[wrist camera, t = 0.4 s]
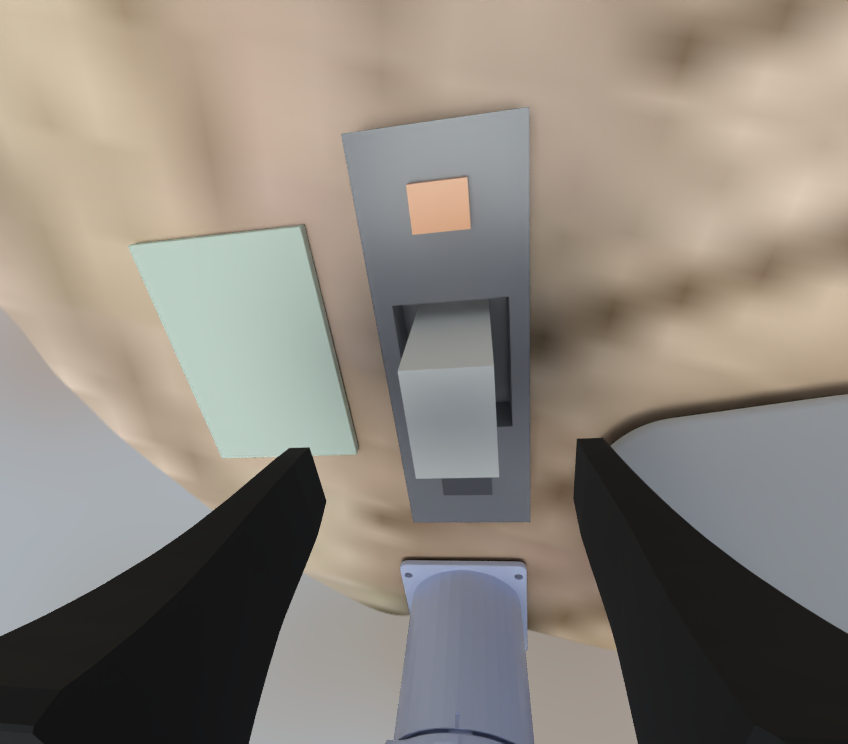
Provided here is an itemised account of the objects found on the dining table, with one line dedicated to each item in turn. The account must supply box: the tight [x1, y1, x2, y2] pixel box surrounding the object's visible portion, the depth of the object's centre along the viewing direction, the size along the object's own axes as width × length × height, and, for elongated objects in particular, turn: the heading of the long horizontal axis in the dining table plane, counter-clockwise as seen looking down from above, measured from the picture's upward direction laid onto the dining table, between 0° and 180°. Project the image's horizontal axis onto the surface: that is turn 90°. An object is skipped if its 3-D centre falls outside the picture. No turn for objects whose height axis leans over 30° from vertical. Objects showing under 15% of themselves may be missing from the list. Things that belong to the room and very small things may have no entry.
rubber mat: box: [128, 225, 359, 458], centre depth 21 cm, size 12×8×1 cm, turn 7°
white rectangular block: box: [398, 299, 499, 479], centre depth 17 cm, size 4×3×6 cm, turn 7°
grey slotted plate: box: [341, 107, 530, 522], centre depth 19 cm, size 18×6×3 cm, turn 7°
